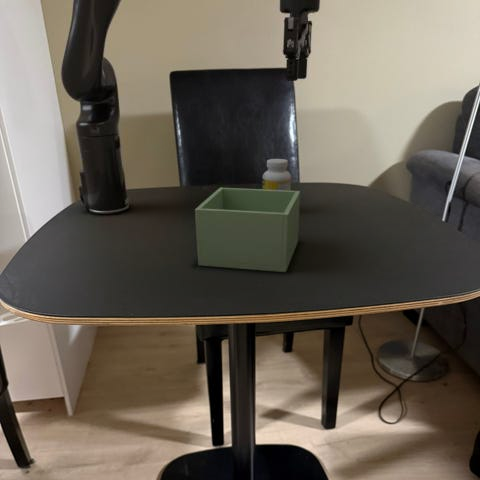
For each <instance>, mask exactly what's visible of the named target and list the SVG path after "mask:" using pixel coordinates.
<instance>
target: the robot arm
mask: <svg viewBox="0 0 480 480" xmlns="http://www.w3.org/2000/svg"><path fill="white" fill-rule="evenodd" d="M121 2H122V0H73V3H72V10H71V11H72V14H71V20H70V26H69V30H68V36H67V40H66V45H65V50H64V53H63V58H62V63H61V70H60V77H61V83H62V86H63V89H64V90H65V92H66V93H67V95H68V96H69V97H70V98H71V99H72V100H74V101H76V102H78V103H79V107H80V111H79V115H78V118H77V119H76V122H75V130H76V137H77V143H78V149H79V154H80V160H81V166H82V169H80V170H79V177H80V183H81V185H80V186H78V190H79V191H78V192H79V198H80V201H81V202H82V204H83V206H84V207H85V212H89V213H91V214H94V215H113V214H119V213H123V212H125V211H128V210H129V208H130V205H129V203H130V196H128V193H127V183H126V177H125V176H126V175H125V169H124V168H125V167H124V160H123V152H122V145H121V136H120V129H119V127H120V125H119V124H120V119H121V110H120V97H119V88H118V87H119V86H118V79H117V75H116V72H115V69H114V66H113V65H112V63H111V62H110V61H109V59H108V58H106V57H105V55H104V54H105V47H106V40H107V36H108V32H109V29H110V26H111V24H112V21H113V19H114V17H115V15H116V13H117V11H118V9H119V7H120V4H121ZM320 6H321V0H279V12H280V13H282V14H285V15H286V14H287V15H289V16H286V17H284V20H283V46H282V47H283V48H282V53H283V56H284V57H285V59H286V67H285V68H286V69H285V80H286V81H287V82H296V81H297V80H305V79H307V75H308V74H307V73H308V59H309V57H310V55H311V53H312V30H313V29H312V27H313V21H312V20H309V15H310V14H315V13H318V12H319V11H320Z"/></svg>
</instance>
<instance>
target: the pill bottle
mask: <svg viewBox="0 0 480 480" xmlns="http://www.w3.org/2000/svg"><path fill="white" fill-rule="evenodd" d="M288 163H289V162H288V160H287V159H285V158H269V159H267V161H266V168H267V170H266V171H264V173H263V174H262V189H265V190H288V191H291V188H292V186H291V185H292V175H291V173H290V172H289V171H288V170H287V168H288V165H289V164H288Z"/></svg>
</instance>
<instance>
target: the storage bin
mask: <svg viewBox="0 0 480 480" xmlns="http://www.w3.org/2000/svg"><path fill="white" fill-rule="evenodd" d="M300 198H301V190H290V191H288V190H265V189H263V188H243V187H242V188H241V187H219V188H218V189H216V191H213V193H212V194H210V196H209V197H207V198H206V199H205V200H204V201H203V202H201V203H200V204H199V205H198V206H197V207H196V208H195V209H194V217H195V235H196V251H197V265H198V266H204V267H215V268H225V269H226V268H227V269H238V270H240V269H242V270H252V271H264V272H265V271H266V272H277V273H287V272H288V271H287V270H288V268H289V265H290V263H291V260H292V257H293V255H294V253H295V250H296V248H297V245H298V242H299V228H300V227H299V226H300V225H299V223H300V206H301V205H300V204H301V199H300Z"/></svg>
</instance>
